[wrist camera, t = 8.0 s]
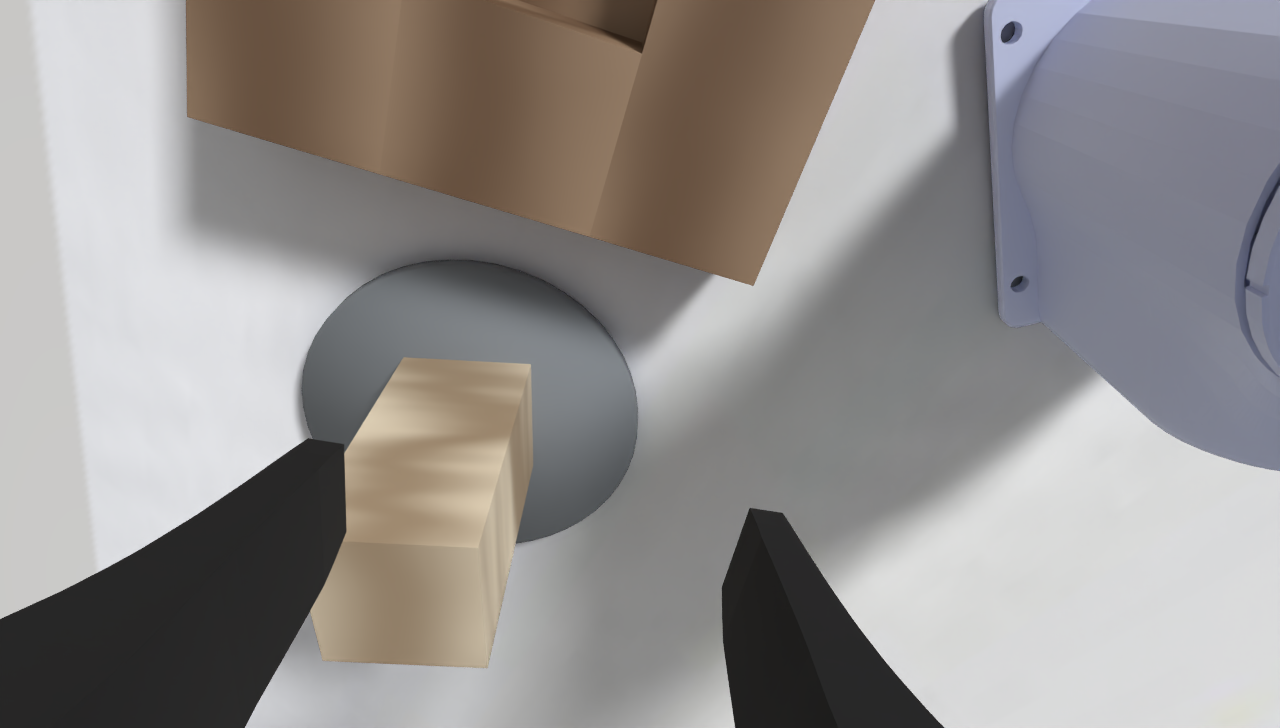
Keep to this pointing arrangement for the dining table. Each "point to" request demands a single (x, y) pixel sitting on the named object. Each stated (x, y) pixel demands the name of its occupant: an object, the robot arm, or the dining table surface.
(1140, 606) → the dining table surface
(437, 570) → the peg
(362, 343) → the coaster
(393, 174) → the pocket block
